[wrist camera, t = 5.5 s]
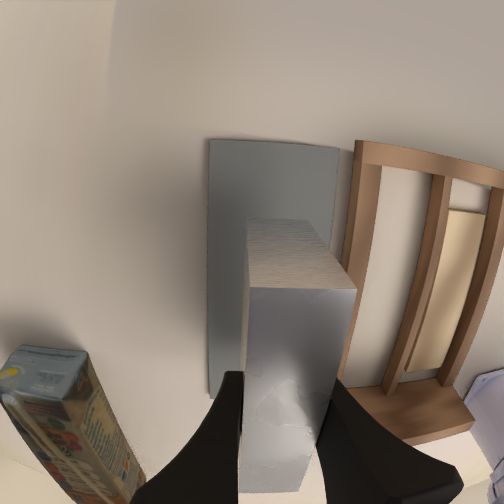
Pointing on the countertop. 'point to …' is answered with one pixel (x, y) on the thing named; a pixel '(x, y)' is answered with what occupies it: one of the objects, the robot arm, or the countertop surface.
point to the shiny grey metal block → (288, 349)
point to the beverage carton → (69, 424)
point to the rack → (420, 290)
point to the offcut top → (447, 289)
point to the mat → (261, 206)
